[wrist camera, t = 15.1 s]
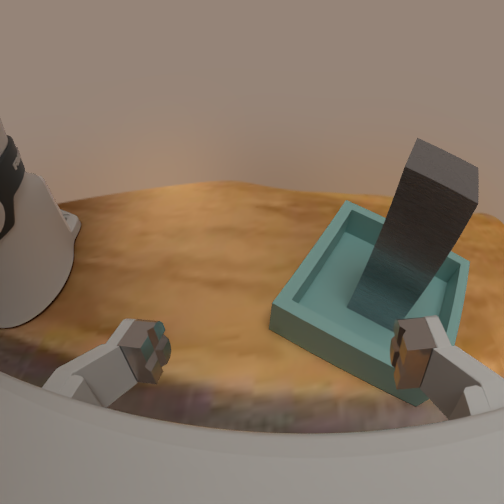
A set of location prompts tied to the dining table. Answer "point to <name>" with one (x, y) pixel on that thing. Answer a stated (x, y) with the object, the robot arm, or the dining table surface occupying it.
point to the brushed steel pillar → (416, 233)
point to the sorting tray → (340, 292)
